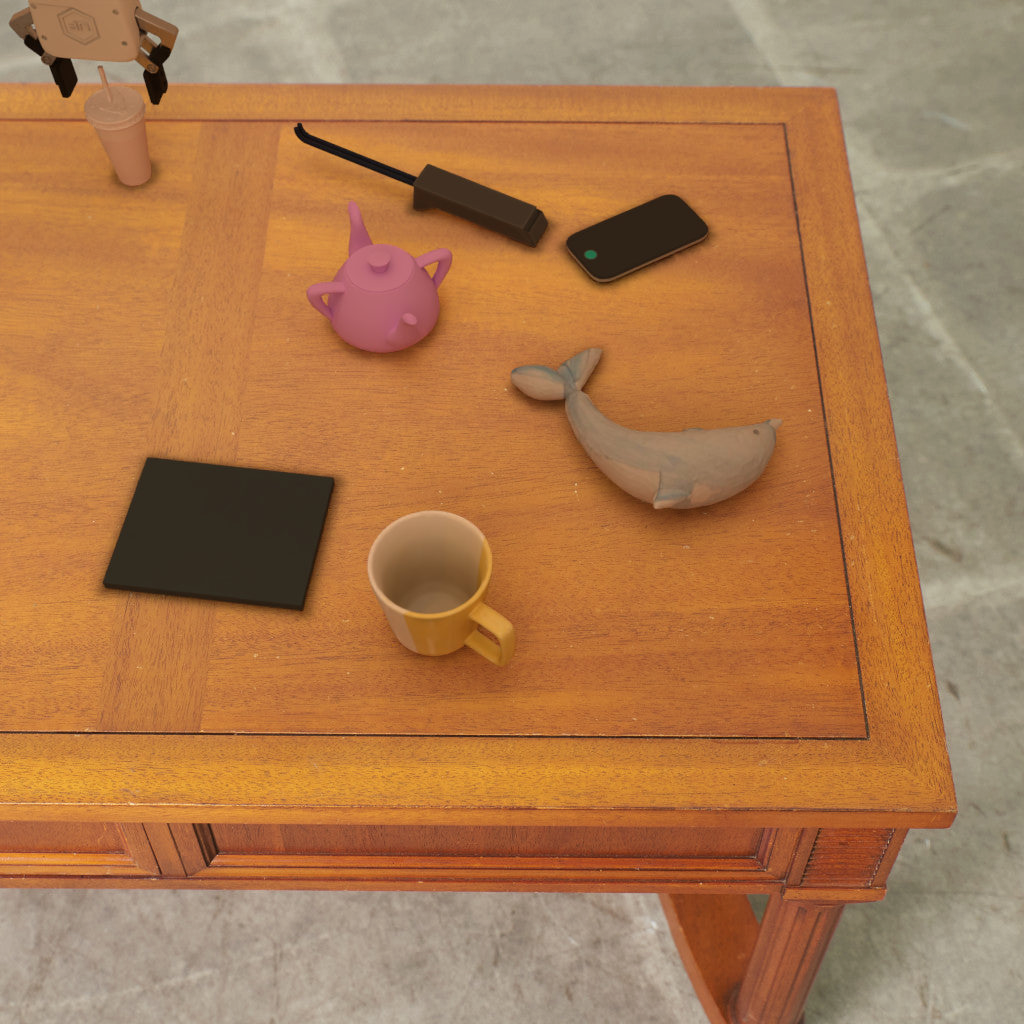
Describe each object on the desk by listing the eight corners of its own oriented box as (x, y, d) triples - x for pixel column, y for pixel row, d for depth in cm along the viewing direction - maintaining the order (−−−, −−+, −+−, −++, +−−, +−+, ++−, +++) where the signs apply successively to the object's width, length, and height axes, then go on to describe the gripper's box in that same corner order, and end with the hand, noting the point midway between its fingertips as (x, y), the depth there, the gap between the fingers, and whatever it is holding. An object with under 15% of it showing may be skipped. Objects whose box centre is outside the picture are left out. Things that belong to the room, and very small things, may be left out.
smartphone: (560, 237, 138) (674, 189, 142) (560, 243, 138) (673, 195, 143) (599, 282, 134) (714, 230, 138) (598, 288, 135) (713, 236, 139)
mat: (104, 588, 114) (101, 582, 113) (149, 462, 122) (146, 456, 121) (303, 611, 113) (301, 605, 112) (335, 483, 120) (333, 476, 120)
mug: (354, 615, 112) (342, 552, 104) (447, 555, 116) (443, 488, 107) (446, 728, 106) (442, 671, 98) (541, 661, 110) (545, 600, 101)
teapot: (358, 261, 137) (350, 198, 129) (473, 304, 133) (471, 241, 126) (299, 335, 131) (288, 273, 123) (418, 382, 127) (414, 321, 120)
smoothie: (142, 147, 147) (111, 42, 135) (175, 175, 144) (146, 70, 133) (95, 174, 144) (59, 68, 132) (128, 202, 142) (94, 97, 130)
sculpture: (637, 283, 131) (820, 412, 117) (631, 342, 136) (804, 471, 123) (500, 347, 123) (678, 493, 109) (499, 407, 128) (669, 553, 115)
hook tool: (546, 235, 141) (305, 139, 145) (550, 211, 138) (304, 114, 142) (532, 257, 139) (289, 160, 143) (536, 234, 136) (287, 135, 140)
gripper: (-36, -40, 119) (24, 110, 134) (143, -27, 118) (184, 122, 132) (-8, -85, 124) (47, 64, 138) (166, -74, 122) (203, 76, 137)
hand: (114, 93), depth 135 cm, fingers open, 9 cm apart
